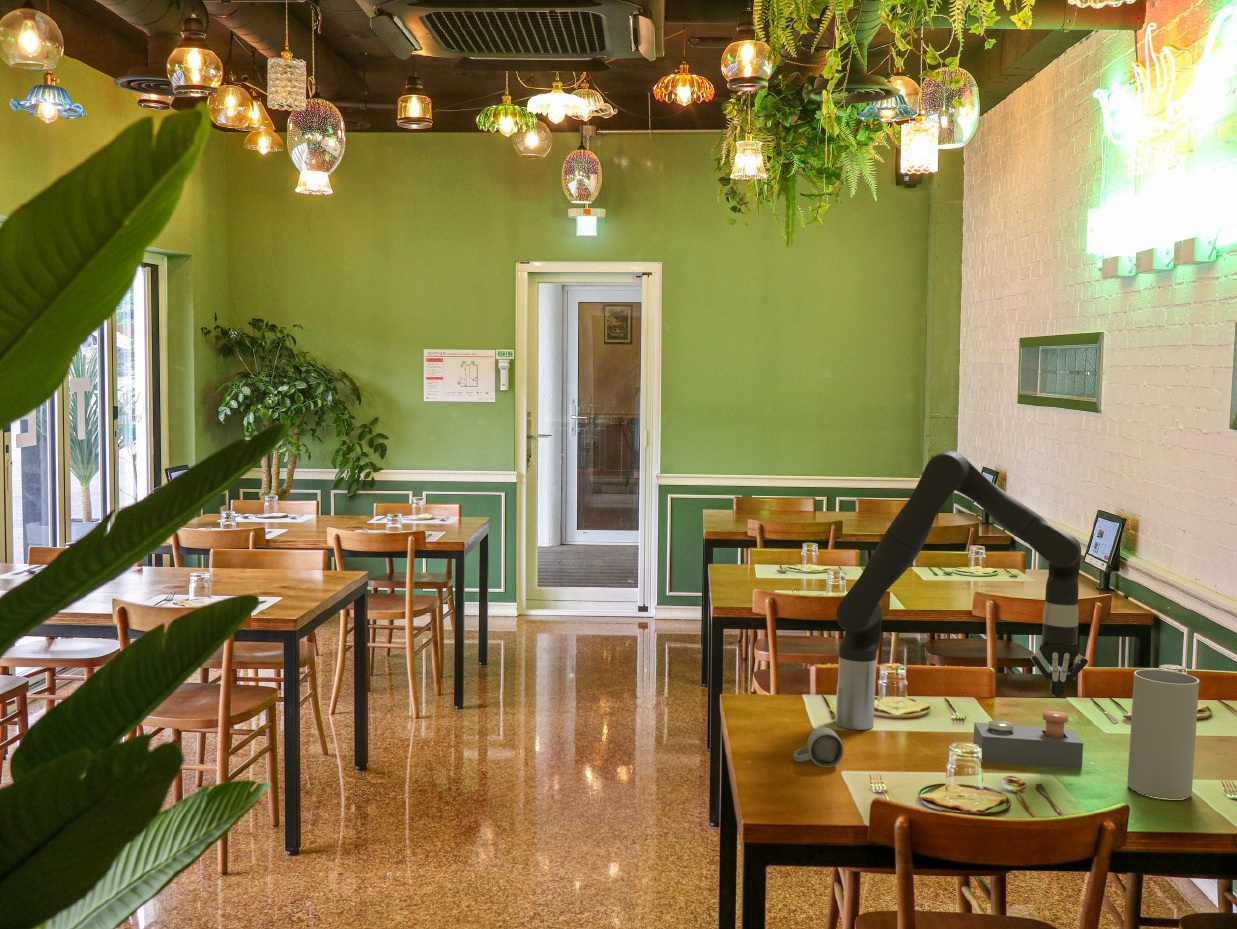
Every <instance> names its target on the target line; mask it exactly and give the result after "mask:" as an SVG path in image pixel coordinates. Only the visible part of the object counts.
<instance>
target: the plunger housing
mask: <svg viewBox="0 0 1237 929" xmlns="http://www.w3.org/2000/svg"><path fill="white" fill-rule="evenodd" d="M1013 725H1014V728H1013V732H1010V734H998V733H991V730H990V729H989V728H988V722H976V721H975V722H974V724H973V726H974V727H973V743H974V744H977V745H979V747H980V748H982V761H983V762H982V763H991V764H992V763H993V764H1005V765H1017V766H1018V765H1020V766H1034V767H1047V768H1060V769H1070V770H1071V769H1072V768H1073V769H1074V770H1082V769H1083V754H1084V742H1083V741H1082V739H1080V737H1079V736H1078V735H1077V734H1076V733H1075V732H1074V730H1073V729H1072V728H1065V727H1064V738H1056V737H1045V729H1046V726H1036V725H1035V726H1033V725H1020V724H1019V725H1017V724H1013Z"/></svg>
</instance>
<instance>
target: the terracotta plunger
mask: <svg viewBox="0 0 1237 929" xmlns="http://www.w3.org/2000/svg"><path fill="white" fill-rule="evenodd" d="M1041 717H1042V720H1044V721H1045V727H1046V729H1045V737H1056V738H1064V728H1065V723H1068V722H1069V718H1070V717H1069V714H1067V713H1066V712H1063V711H1058V710H1057V711H1056V710H1044V711H1042V716H1041Z"/></svg>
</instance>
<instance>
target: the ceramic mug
mask: <svg viewBox="0 0 1237 929" xmlns="http://www.w3.org/2000/svg"><path fill="white" fill-rule="evenodd" d="M792 756H793V759H794V760H795V762H796V763H805V762H806V761H810V760H811V761H812V762H813V763H814V764H815V765H816V766H818V767H821V768H826V769H827V768H832V767H835V766H837V765H838V764H839V763H840V762H841V761H842V759H843V757H844V745H843V742H842V740H841V738H840V737H839V736H838V734H837V733H836V732H835V731H834V730H832V729H831V728H830V727H829V728H828V727H825V726H824V727H823V726H821V727H818V728H817V727H816V728H815V729H813V730H812V731H811V732H810V734H809V735H808V738H807V745H805V746H802V747H800V748H798V749H797V750H795V751H794V753H793V754H792Z"/></svg>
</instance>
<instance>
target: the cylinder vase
mask: <svg viewBox="0 0 1237 929" xmlns="http://www.w3.org/2000/svg"><path fill="white" fill-rule="evenodd" d="M1132 686H1133V688H1132V703H1131V717H1130V718H1131V720H1130V732H1129V733H1130V735H1129V752H1128V753H1129V754H1128V766H1127V768H1128V769H1127V785H1128V788H1129V789H1130V788H1131V789H1132V790H1131V789H1130V790H1131V791H1133V790H1134V791H1136V792H1139V793H1141V794H1144V795H1148V796H1152V797H1158V798H1167V799H1182V798H1187V797H1189V796H1190V797H1191V796H1192V794H1193V793H1192V792H1193V782H1194V781H1193V780H1194V769H1195V768H1194V767H1195V766H1194V764H1195V750H1196V739H1197V738H1196V734H1197V721H1198V720H1197V719H1198V707H1199V706H1198V704H1199V703H1198V702H1199V691H1200V690H1199V689H1200V679H1199V678H1197V677H1195V676H1193V675H1190V674H1186V673H1183V672H1178V671H1174V670H1165V669H1156V668H1155V669H1153V668H1149V669H1147V668H1145V669H1138V670H1135V671H1134V672H1133V685H1132ZM1134 791H1133V792H1134ZM1136 792H1135V793H1136ZM1190 797H1189V798H1190ZM1187 799H1188V798H1187Z"/></svg>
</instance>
